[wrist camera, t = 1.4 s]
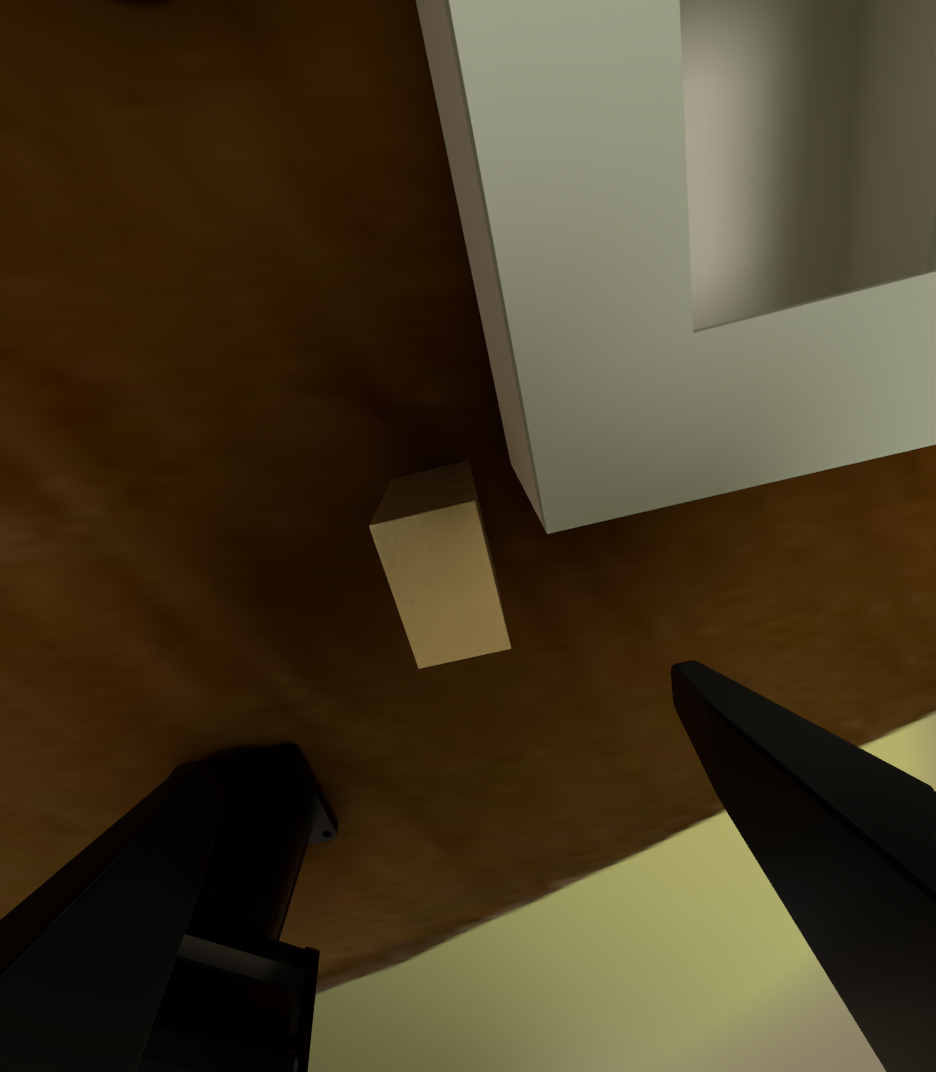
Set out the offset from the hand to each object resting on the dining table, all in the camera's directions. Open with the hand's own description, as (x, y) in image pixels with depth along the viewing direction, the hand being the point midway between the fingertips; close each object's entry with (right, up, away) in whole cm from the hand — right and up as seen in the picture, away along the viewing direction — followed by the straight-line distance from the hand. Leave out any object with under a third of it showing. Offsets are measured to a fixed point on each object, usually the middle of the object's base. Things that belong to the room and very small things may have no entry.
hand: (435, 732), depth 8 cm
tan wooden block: (0, +4, +9) cm, 10 cm away
